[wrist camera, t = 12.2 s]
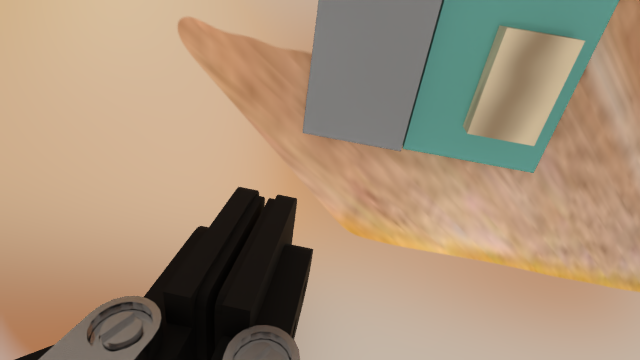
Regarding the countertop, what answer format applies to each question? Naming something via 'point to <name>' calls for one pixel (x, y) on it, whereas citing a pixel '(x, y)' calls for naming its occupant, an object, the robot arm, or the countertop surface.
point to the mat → (467, 66)
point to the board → (367, 68)
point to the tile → (520, 84)
